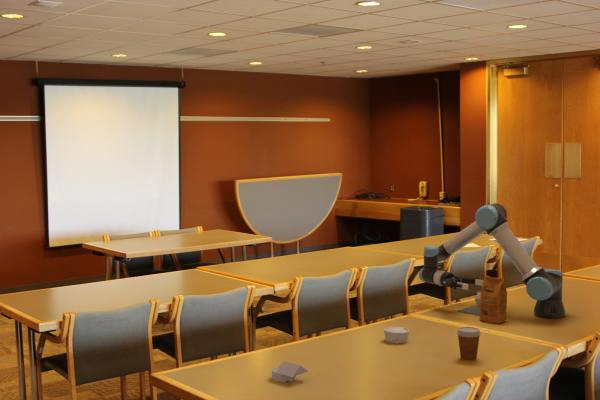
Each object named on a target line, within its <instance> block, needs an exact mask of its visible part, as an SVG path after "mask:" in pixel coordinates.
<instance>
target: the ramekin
mask: <svg viewBox="0 0 600 400" xmlns="http://www.w3.org/2000/svg"><path fill="white" fill-rule="evenodd" d="M383 333H384V338H385V339H384V340H385V341H386V342H387V343H389V344H396V345H397V344H399V343H401V344H405V343H407V342H408V340H409V334H410V329H409V328H408V327H405V326H404V327H403V326H387V327H385V328H384V329H383ZM399 345H400V344H399Z"/></svg>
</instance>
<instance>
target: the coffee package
mask: <svg viewBox="0 0 600 400" xmlns="http://www.w3.org/2000/svg"><path fill="white" fill-rule="evenodd" d="M483 280H484V281H483V286H481V291H480V292H481V299H480V307H479V308H480V315H479V321H480V322H487V323H489V324H495V325H496V324H497V325H500V324H501V323H503V322H507V318H508V317H507V314H508V313H507V304H508V291H507V287H506V283H505V281H506V279H505V277H491V276H489V275H484V278H483Z"/></svg>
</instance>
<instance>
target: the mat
mask: <svg viewBox="0 0 600 400" xmlns="http://www.w3.org/2000/svg"><path fill="white" fill-rule="evenodd" d="M457 312H461V313H466V314H471V315H476V316H480V307H478V306H468V307H465V308H460V309H457Z"/></svg>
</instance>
